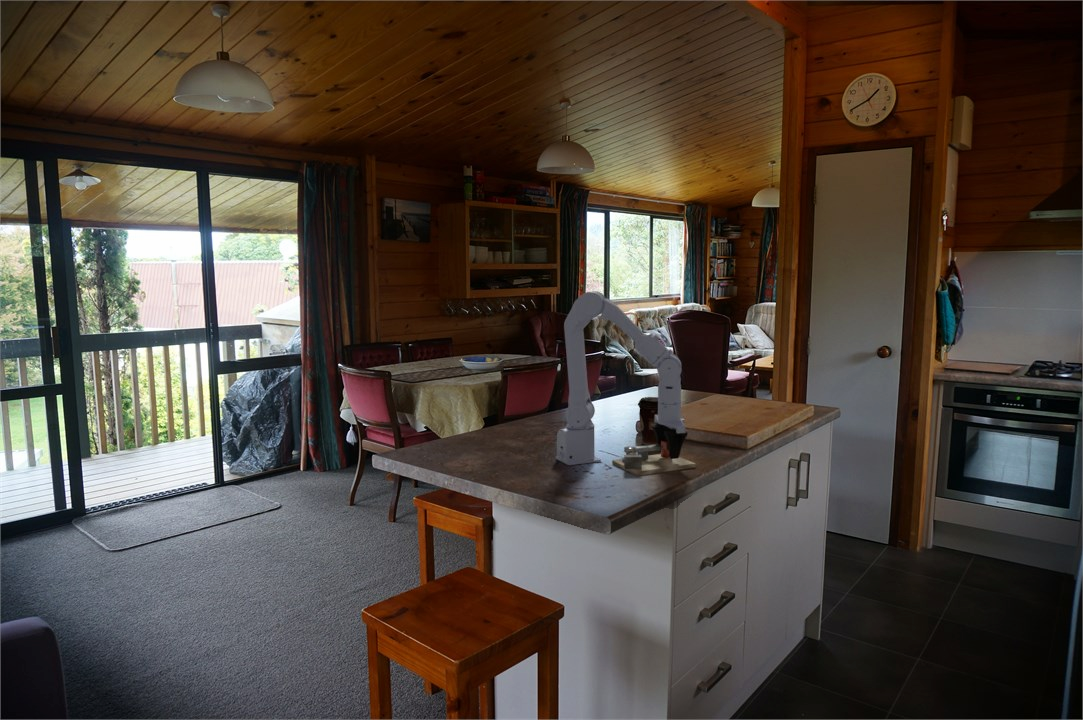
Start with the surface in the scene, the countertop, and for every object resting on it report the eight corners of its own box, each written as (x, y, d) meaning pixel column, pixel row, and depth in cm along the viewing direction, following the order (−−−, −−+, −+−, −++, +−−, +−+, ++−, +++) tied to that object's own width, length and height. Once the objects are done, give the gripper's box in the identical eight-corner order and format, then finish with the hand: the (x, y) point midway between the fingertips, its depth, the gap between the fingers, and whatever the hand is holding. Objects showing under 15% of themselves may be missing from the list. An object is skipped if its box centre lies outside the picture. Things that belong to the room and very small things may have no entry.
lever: (627, 462, 177) (626, 445, 176) (622, 459, 179) (622, 443, 179) (673, 458, 180) (673, 441, 180) (668, 455, 183) (668, 439, 182)
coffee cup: (632, 444, 200) (633, 399, 199) (642, 438, 208) (643, 395, 206) (662, 447, 196) (662, 402, 195) (671, 441, 204) (671, 397, 202)
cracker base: (631, 476, 168) (631, 459, 168) (607, 464, 179) (607, 448, 179) (695, 467, 176) (695, 451, 175) (668, 456, 187) (668, 441, 186)
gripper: (696, 406, 172) (696, 461, 173) (672, 397, 186) (671, 447, 187) (670, 408, 170) (669, 463, 172) (647, 398, 184) (647, 449, 186)
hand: (669, 455), depth 179 cm, fingers open, 6 cm apart
